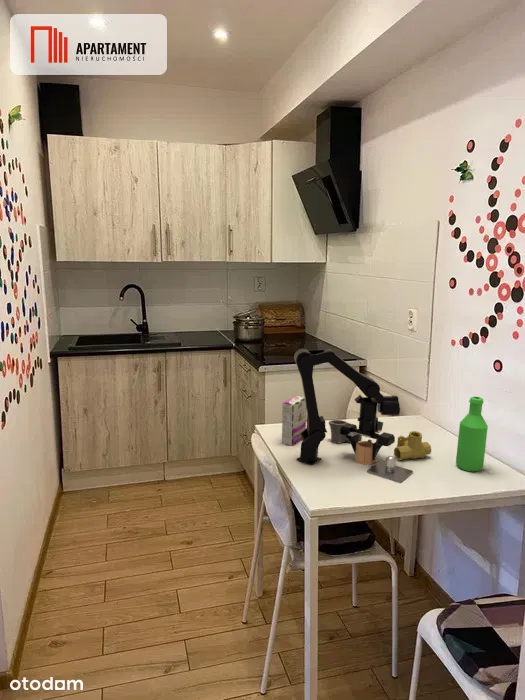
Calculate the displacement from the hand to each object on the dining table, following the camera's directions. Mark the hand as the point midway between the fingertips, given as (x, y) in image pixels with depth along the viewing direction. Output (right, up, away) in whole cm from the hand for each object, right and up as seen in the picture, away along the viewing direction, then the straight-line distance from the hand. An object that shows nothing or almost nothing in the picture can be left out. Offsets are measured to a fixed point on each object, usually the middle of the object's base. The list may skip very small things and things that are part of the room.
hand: (365, 457), depth 181 cm
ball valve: (+17, -1, +6) cm, 18 cm away
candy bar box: (-24, +3, +18) cm, 30 cm away
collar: (0, -1, 0) cm, 1 cm away
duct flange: (+6, -3, -9) cm, 12 cm away
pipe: (-5, +2, +18) cm, 19 cm away
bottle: (+35, -3, -3) cm, 36 cm away
